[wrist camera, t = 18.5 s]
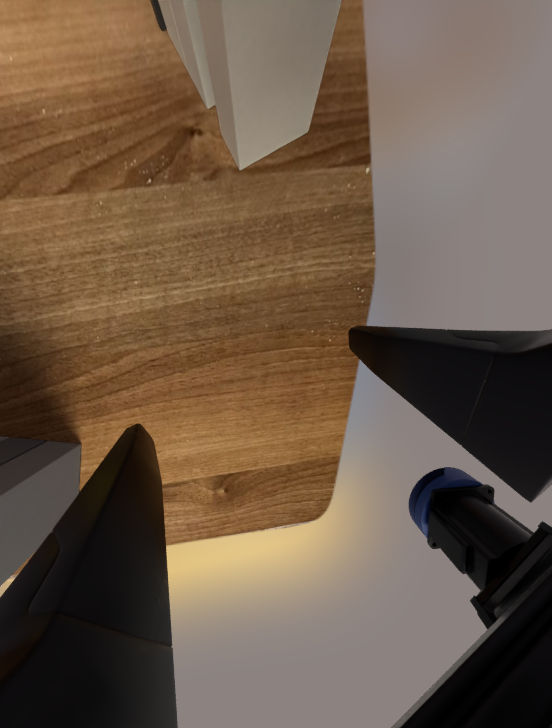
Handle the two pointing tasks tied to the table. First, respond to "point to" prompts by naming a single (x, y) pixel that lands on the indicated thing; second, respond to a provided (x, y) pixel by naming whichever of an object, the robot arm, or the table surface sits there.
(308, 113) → the white book
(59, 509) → the grey books
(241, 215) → the table surface
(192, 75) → the white books
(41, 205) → the table surface
